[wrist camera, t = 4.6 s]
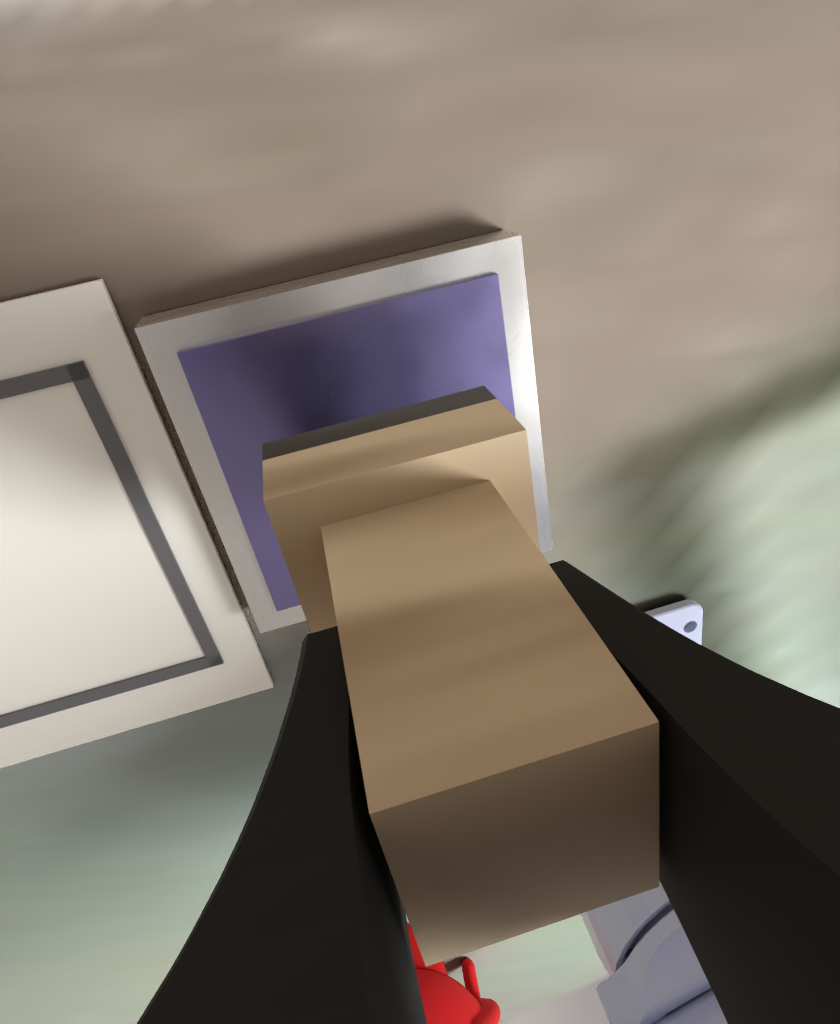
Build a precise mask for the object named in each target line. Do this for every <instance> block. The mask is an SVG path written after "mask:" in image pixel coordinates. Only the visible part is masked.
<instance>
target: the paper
mask: <svg viewBox="0 0 840 1024" xmlns="http://www.w3.org/2000/svg"><path fill="white" fill-rule="evenodd" d="M273 687H274V684H273V681H272V678H271V676H270V674H269V671H268V669H267V667H266V664H265V662H264V660H263V657H262V655H261V652H260V650H259V648H258V645H257V643H256V641H255V638H254V636H253V633H252V631H251V629H250V626H249V624H248V622H247V619H246V617H245V615H244V612H243V610H242V607H241V605H240V603H239V600H238V598H237V596H236V593H235V591H234V588H233V586H232V584H231V581H230V579H229V577H228V574H227V572H226V570H225V567H224V565H223V562H222V560H221V558H220V555H219V553H218V551H217V548H216V546H215V544H214V541H213V539H212V536H211V534H210V532H209V529H208V527H207V525H206V522H205V520H204V517H203V515H202V513H201V510H200V508H199V506H198V503H197V501H196V499H195V496H194V494H193V491H192V489H191V487H190V484H189V482H188V480H187V477H186V475H185V472H184V470H183V468H182V465H181V463H180V461H179V458H178V456H177V454H176V451H175V449H174V446H173V444H172V442H171V439H170V437H169V435H168V432H167V430H166V427H165V425H164V423H163V420H162V418H161V416H160V413H159V411H158V409H157V406H156V404H155V401H154V399H153V397H152V394H151V392H150V390H149V387H148V385H147V382H146V380H145V378H144V375H143V373H142V371H141V368H140V366H139V364H138V361H137V359H136V356H135V354H134V352H133V349H132V347H131V345H130V342H129V340H128V337H127V335H126V333H125V330H124V328H123V326H122V323H121V321H120V319H119V316H118V314H117V311H116V309H115V307H114V304H113V302H112V300H111V297H110V295H109V292H108V290H107V288H106V285H105V283H104V281H103V278H102V279H98V280H93V281H89V282H85V283H81V284H76V285H72V286H68V287H63V288H59V289H55V290H51V291H46V292H42V293H38V294H34V295H29V296H25V297H21V298H16V299H12V300H8V301H4V302H0V768H3V767H7V766H10V765H14V764H17V763H20V762H24V761H27V760H30V759H34V758H37V757H41V756H44V755H47V754H51V753H54V752H57V751H61V750H64V749H68V748H71V747H74V746H78V745H81V744H84V743H88V742H91V741H95V740H98V739H101V738H105V737H108V736H111V735H115V734H118V733H122V732H125V731H128V730H132V729H135V728H138V727H142V726H145V725H148V724H152V723H155V722H159V721H162V720H165V719H169V718H172V717H175V716H179V715H182V714H186V713H189V712H192V711H196V710H199V709H202V708H206V707H209V706H213V705H216V704H219V703H223V702H226V701H229V700H233V699H236V698H240V697H243V696H246V695H250V694H253V693H256V692H260V691H263V690H267V689H270V688H273Z"/></svg>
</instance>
